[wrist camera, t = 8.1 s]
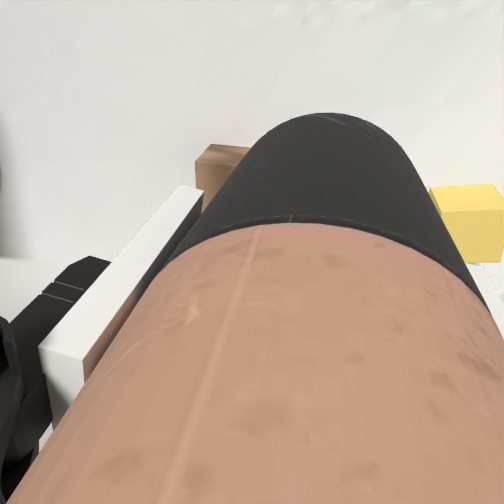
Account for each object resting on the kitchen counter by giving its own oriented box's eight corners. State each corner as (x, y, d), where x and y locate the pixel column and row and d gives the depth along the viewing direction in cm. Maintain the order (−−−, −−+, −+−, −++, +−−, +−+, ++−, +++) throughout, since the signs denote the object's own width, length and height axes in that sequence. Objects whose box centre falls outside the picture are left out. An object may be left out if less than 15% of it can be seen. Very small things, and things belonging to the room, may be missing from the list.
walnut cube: (212, 191, 40) (197, 213, 36) (211, 143, 37) (194, 161, 33) (260, 197, 39) (250, 220, 35) (262, 148, 36) (252, 167, 32)
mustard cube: (425, 234, 38) (435, 263, 34) (430, 187, 35) (441, 212, 31) (482, 232, 37) (500, 262, 32) (491, 183, 34) (511, 209, 30)
